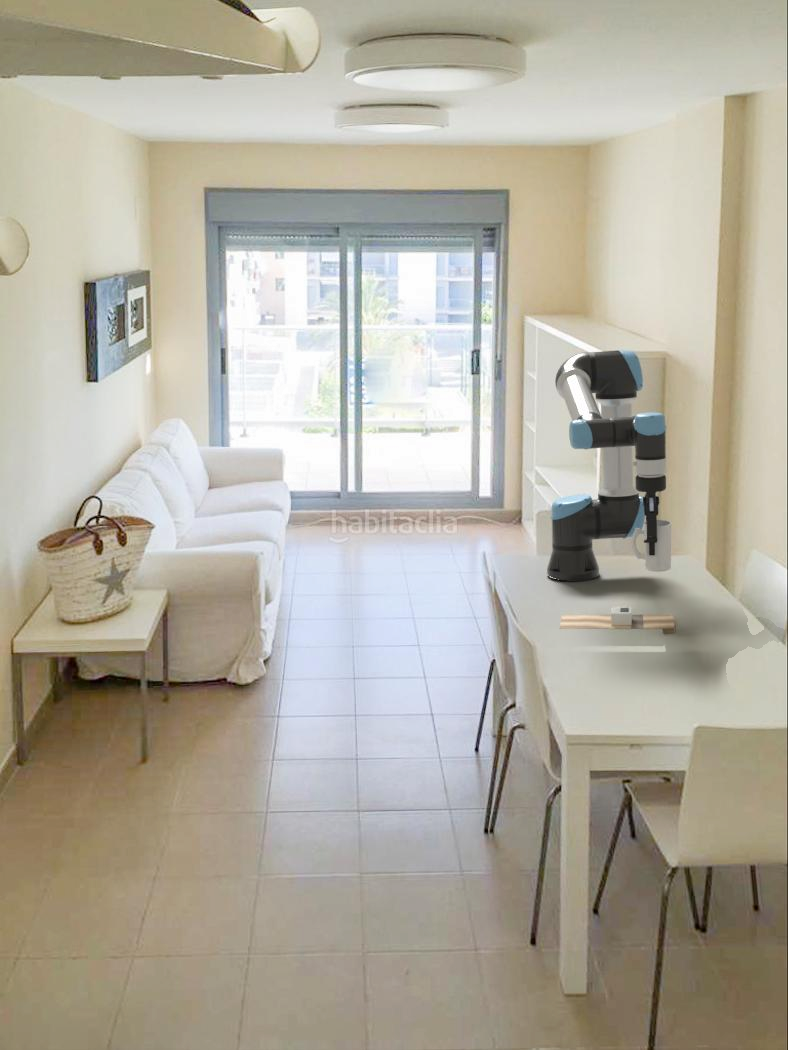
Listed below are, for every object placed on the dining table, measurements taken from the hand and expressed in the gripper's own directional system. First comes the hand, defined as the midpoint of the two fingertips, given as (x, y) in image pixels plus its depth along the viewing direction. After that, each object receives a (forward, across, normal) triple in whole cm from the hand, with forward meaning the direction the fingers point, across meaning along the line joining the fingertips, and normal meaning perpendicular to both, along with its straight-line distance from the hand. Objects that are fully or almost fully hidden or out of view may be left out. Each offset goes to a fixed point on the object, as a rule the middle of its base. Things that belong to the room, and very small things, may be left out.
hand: (651, 563), depth 319 cm
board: (+14, +9, -9) cm, 19 cm away
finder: (+13, +10, -8) cm, 18 cm away
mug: (+2, 0, 0) cm, 2 cm away
